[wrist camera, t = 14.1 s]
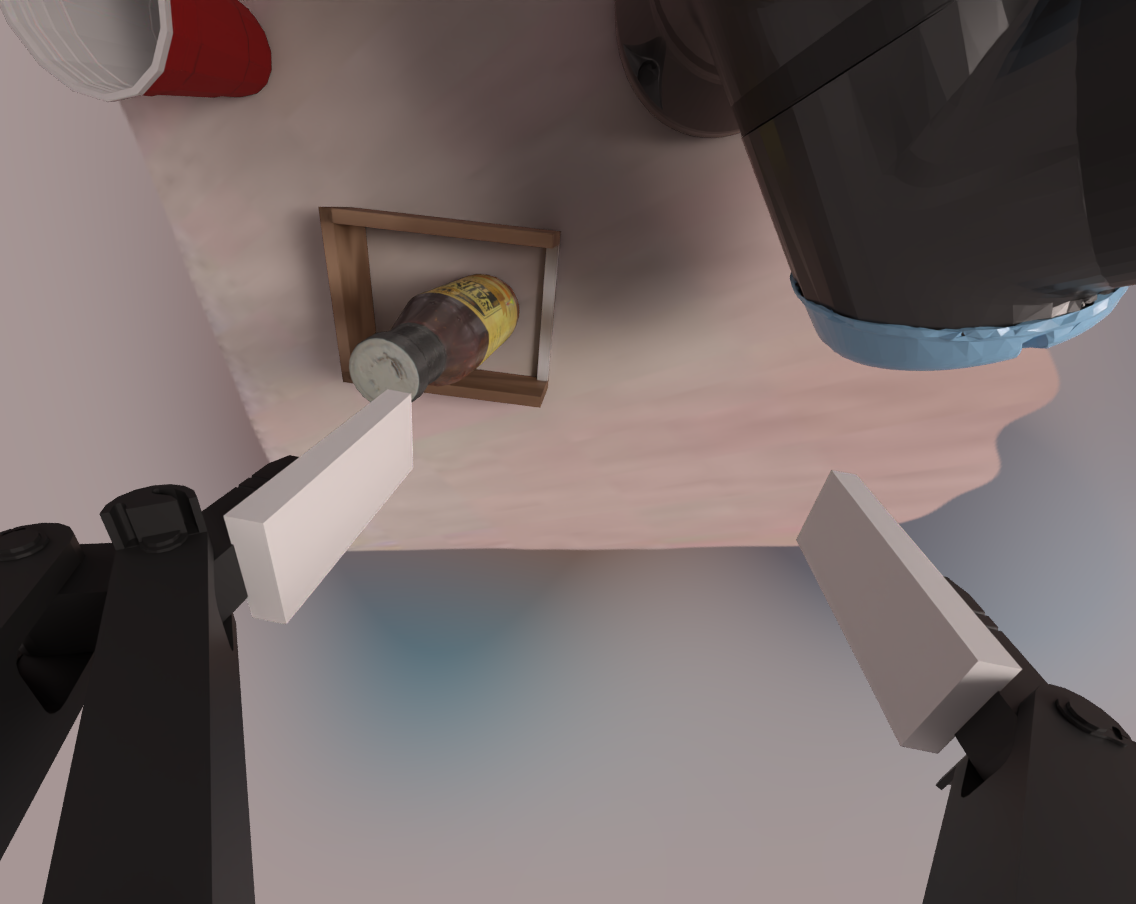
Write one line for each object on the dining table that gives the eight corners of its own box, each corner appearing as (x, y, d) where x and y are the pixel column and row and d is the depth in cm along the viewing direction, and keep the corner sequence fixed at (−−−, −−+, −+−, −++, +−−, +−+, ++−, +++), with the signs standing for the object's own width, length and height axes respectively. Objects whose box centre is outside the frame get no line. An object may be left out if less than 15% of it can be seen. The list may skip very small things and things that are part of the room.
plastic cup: (202, -101, 31) (-15, -263, 20) (330, 52, 34) (201, -19, 24) (137, 40, 35) (-71, -35, 24) (257, 165, 38) (119, 147, 28)
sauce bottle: (523, 276, 40) (452, 325, 23) (519, 346, 43) (452, 437, 26) (451, 266, 40) (324, 307, 23) (451, 336, 43) (338, 419, 26)
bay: (352, 207, 39) (318, 206, 35) (560, 231, 38) (553, 234, 34) (369, 365, 46) (343, 381, 41) (547, 388, 45) (540, 407, 40)
